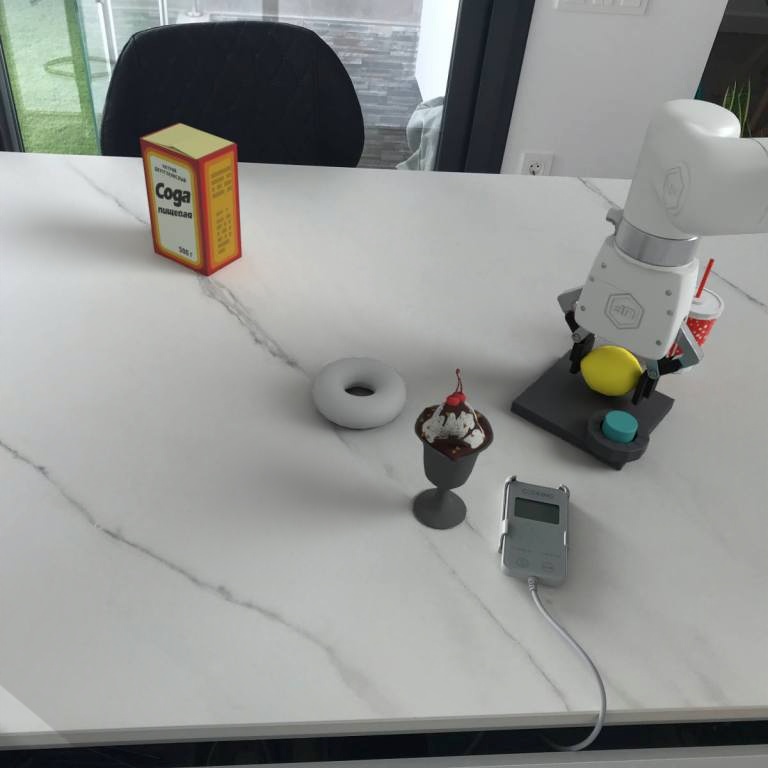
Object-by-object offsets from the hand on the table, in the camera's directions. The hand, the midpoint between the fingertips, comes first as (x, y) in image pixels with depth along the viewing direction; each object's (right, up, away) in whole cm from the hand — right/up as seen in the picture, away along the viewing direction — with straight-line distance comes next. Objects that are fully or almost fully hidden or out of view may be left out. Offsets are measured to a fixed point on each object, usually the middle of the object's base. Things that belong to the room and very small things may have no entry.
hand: (608, 382), depth 84 cm
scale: (-2, -3, 0) cm, 3 cm away
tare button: (-1, -5, -6) cm, 8 cm away
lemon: (0, -1, +1) cm, 1 cm away
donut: (-27, -2, -2) cm, 27 cm away
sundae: (-19, -12, -12) cm, 26 cm away
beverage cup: (+10, +2, +8) cm, 13 cm away
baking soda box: (-49, +17, +19) cm, 55 cm away
